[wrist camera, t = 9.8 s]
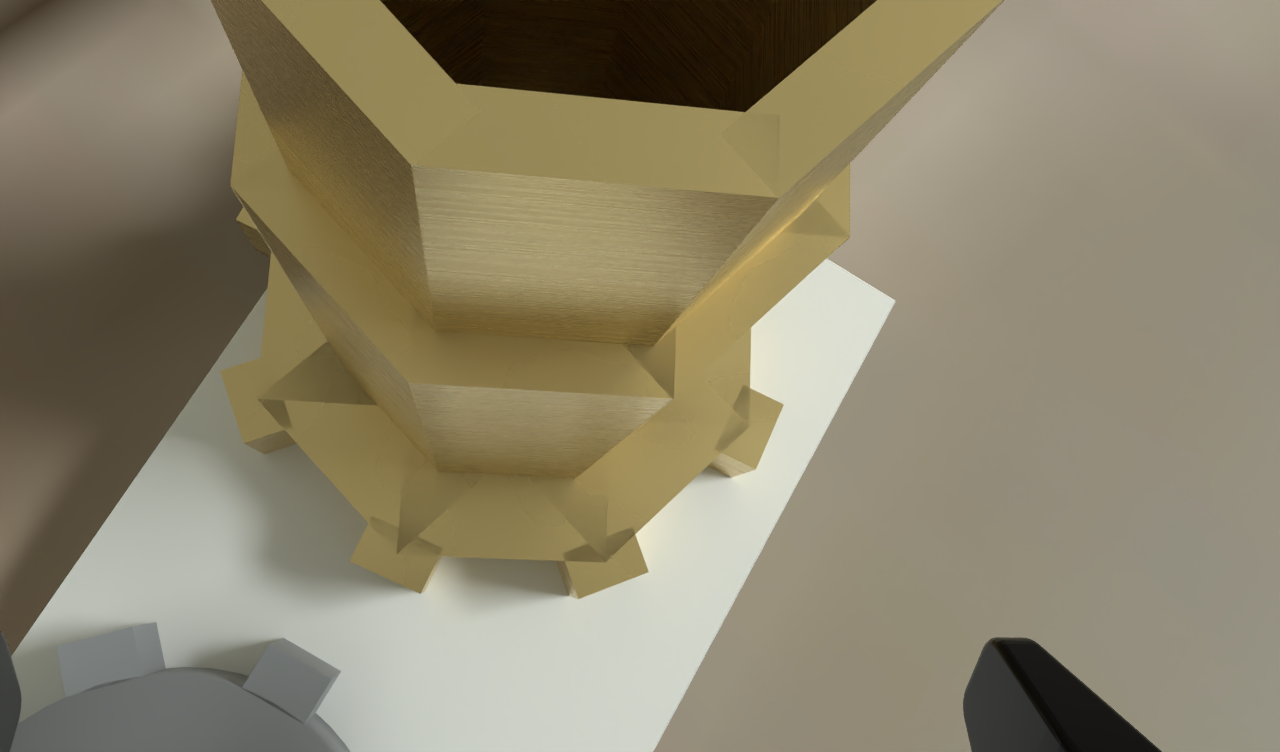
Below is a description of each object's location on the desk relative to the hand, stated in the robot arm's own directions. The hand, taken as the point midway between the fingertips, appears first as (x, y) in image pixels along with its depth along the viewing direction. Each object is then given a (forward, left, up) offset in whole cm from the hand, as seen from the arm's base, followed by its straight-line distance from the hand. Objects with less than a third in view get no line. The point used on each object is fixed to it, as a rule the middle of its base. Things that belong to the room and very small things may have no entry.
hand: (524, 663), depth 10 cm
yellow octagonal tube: (+4, +2, -7) cm, 8 cm away
